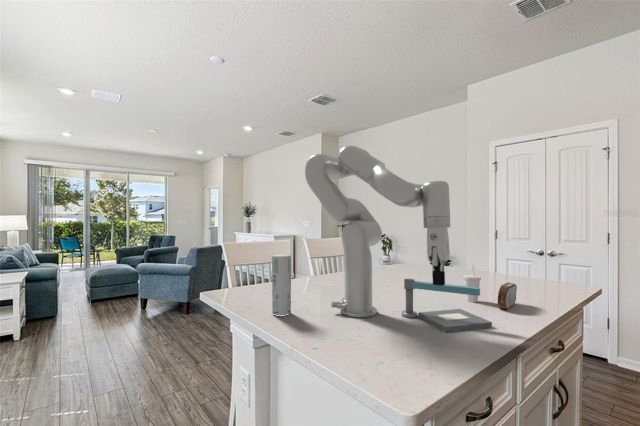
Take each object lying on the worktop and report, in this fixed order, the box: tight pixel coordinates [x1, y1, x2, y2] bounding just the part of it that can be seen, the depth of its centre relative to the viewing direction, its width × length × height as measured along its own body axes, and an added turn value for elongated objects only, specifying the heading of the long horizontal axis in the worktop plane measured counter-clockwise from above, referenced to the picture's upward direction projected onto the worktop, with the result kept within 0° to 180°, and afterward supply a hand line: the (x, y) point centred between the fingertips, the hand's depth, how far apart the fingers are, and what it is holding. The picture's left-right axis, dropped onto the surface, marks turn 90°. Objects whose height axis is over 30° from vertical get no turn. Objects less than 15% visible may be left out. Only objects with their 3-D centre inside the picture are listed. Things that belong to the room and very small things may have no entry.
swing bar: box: [403, 278, 481, 297], centre depth 99 cm, size 23×3×3 cm, turn 59°
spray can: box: [271, 253, 292, 315], centre depth 107 cm, size 6×6×20 cm
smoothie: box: [462, 264, 482, 303], centre depth 122 cm, size 6×6×14 cm
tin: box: [497, 282, 518, 310], centre depth 114 cm, size 15×3×8 cm, turn 134°
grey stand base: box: [401, 289, 493, 333], centre depth 100 cm, size 20×18×9 cm
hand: (438, 284), depth 93 cm, fingers closed
